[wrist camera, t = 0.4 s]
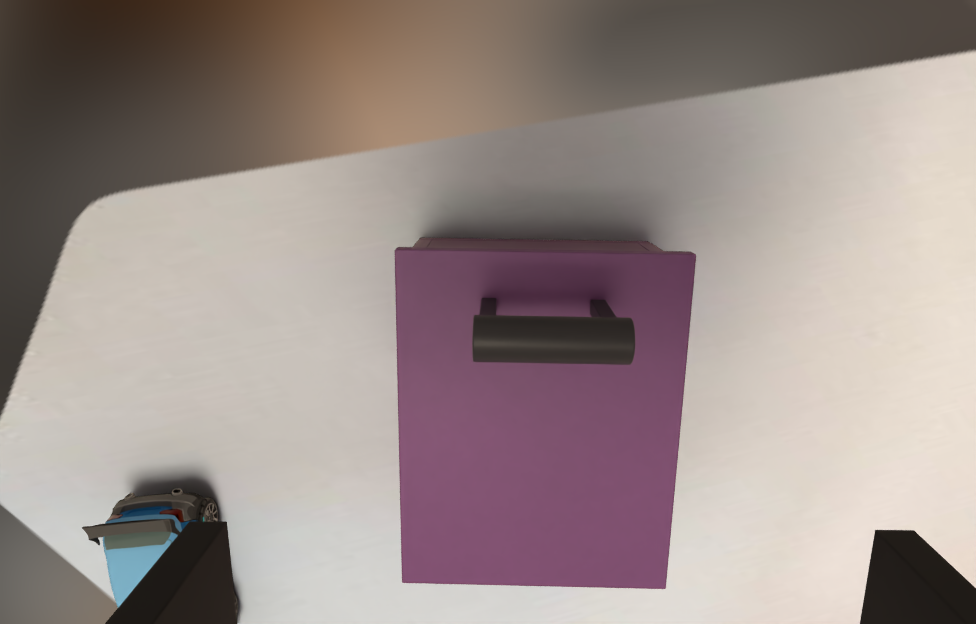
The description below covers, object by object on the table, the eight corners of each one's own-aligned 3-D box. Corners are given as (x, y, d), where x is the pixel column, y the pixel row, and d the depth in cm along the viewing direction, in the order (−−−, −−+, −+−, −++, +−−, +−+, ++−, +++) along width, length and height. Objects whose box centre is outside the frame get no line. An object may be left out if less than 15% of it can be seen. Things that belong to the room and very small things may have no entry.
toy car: (167, 633, 47) (123, 699, 41) (124, 480, 44) (71, 529, 38) (248, 626, 47) (215, 691, 41) (211, 472, 44) (169, 519, 38)
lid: (397, 246, 31) (367, 277, 24) (691, 251, 31) (746, 283, 24) (404, 573, 35) (380, 678, 28) (662, 579, 35) (701, 686, 28)
